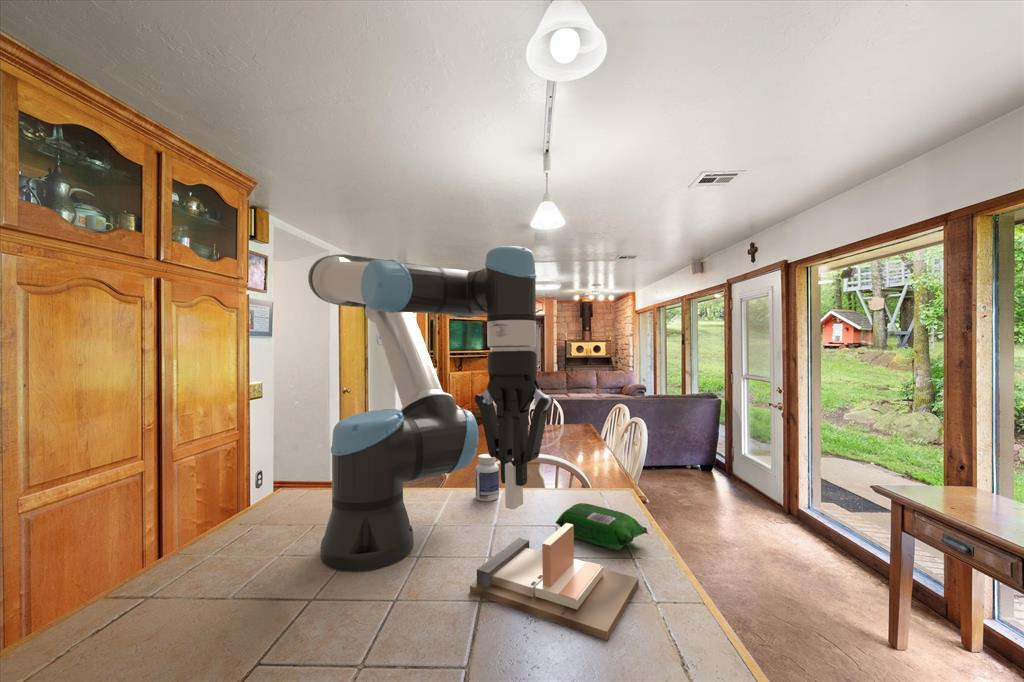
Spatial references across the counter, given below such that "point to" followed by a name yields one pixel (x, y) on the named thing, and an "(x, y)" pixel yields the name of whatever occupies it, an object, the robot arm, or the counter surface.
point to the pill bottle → (487, 478)
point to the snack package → (601, 525)
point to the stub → (565, 571)
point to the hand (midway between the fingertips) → (514, 505)
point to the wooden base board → (515, 584)
